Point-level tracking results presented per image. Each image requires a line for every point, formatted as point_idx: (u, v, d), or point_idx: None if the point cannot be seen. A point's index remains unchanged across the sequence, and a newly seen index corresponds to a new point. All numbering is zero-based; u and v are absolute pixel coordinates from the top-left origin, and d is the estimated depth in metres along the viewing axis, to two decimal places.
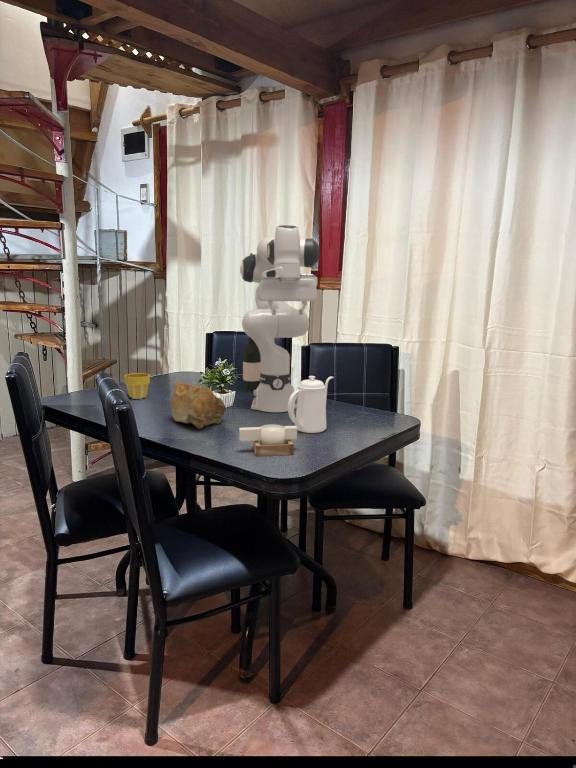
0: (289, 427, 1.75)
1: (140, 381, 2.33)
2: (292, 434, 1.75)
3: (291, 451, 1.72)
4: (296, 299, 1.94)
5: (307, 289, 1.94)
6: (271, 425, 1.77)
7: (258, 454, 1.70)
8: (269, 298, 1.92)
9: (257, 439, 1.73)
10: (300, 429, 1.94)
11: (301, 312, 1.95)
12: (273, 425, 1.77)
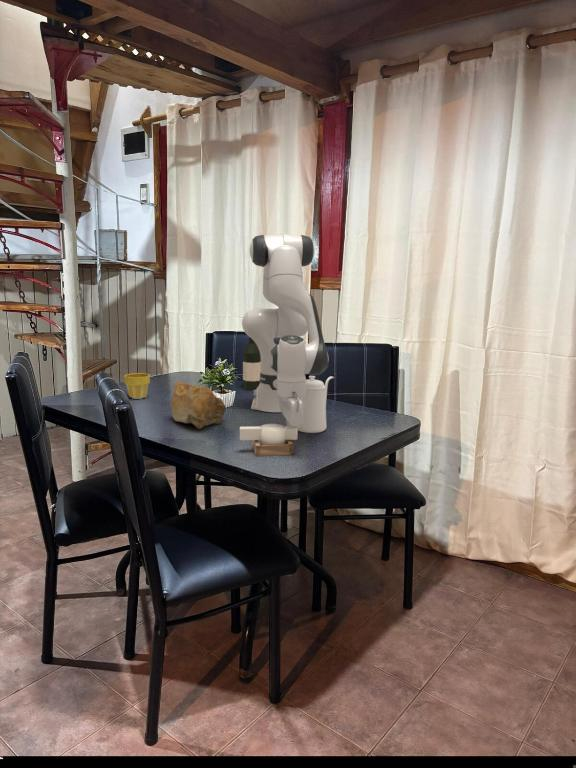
0: (290, 427, 1.75)
1: (140, 381, 2.33)
2: (293, 434, 1.75)
3: (291, 451, 1.72)
4: (286, 419, 1.75)
5: (289, 411, 1.70)
6: (272, 424, 1.77)
7: (258, 454, 1.70)
8: (281, 411, 1.83)
9: (257, 438, 1.73)
10: (300, 429, 1.94)
11: None
12: (274, 424, 1.77)
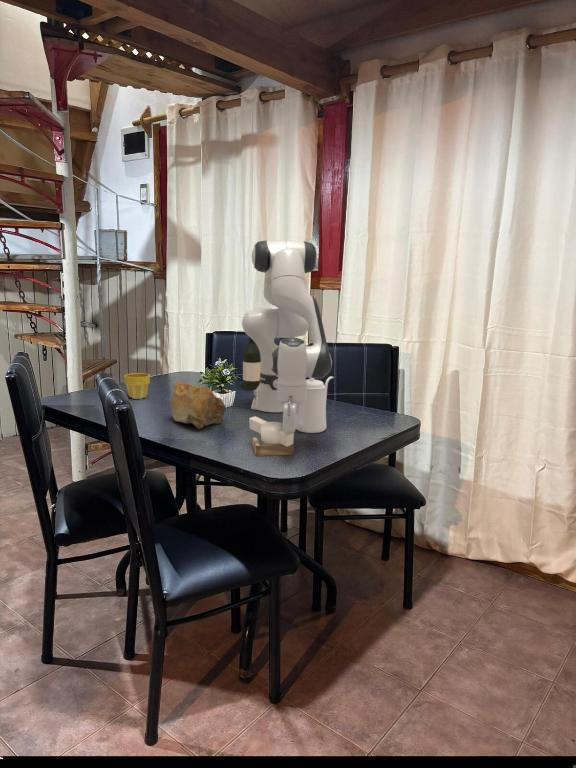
0: (284, 432, 1.70)
1: (140, 381, 2.33)
2: (283, 440, 1.69)
3: (291, 451, 1.72)
4: None
5: None
6: (279, 424, 1.75)
7: (258, 454, 1.70)
8: None
9: (260, 432, 1.77)
10: (300, 429, 1.94)
11: None
12: (281, 424, 1.75)
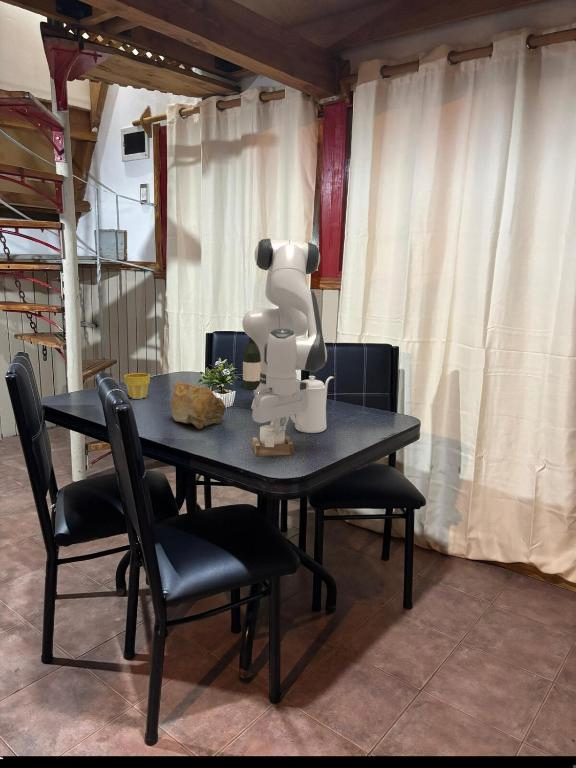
0: (269, 433, 1.69)
1: (140, 381, 2.33)
2: None
3: (291, 451, 1.72)
4: None
5: None
6: None
7: (258, 454, 1.70)
8: None
9: None
10: (300, 429, 1.94)
11: None
12: None
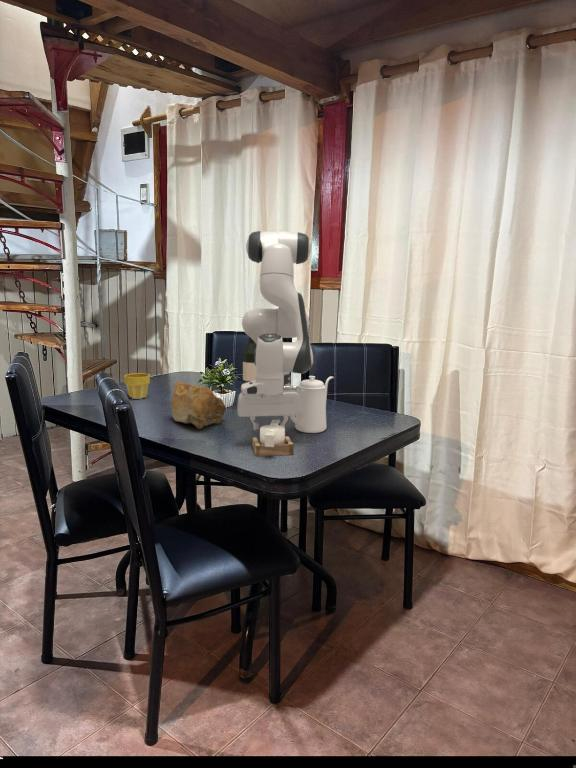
0: (269, 433, 1.69)
1: (140, 381, 2.33)
2: None
3: (291, 451, 1.72)
4: (279, 414, 1.80)
5: (290, 403, 1.80)
6: (280, 428, 1.74)
7: (258, 454, 1.70)
8: (250, 414, 1.78)
9: None
10: (300, 429, 1.94)
11: None
12: (280, 429, 1.73)
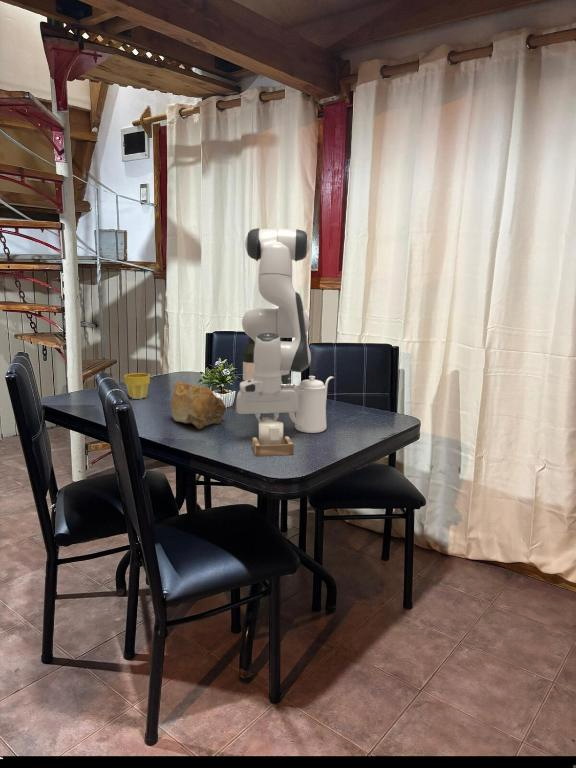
0: (272, 427, 1.73)
1: (140, 381, 2.33)
2: (269, 434, 1.72)
3: (291, 451, 1.72)
4: (276, 411, 1.84)
5: (288, 401, 1.84)
6: (279, 423, 1.78)
7: (258, 454, 1.70)
8: (248, 411, 1.83)
9: None
10: (300, 429, 1.94)
11: None
12: (279, 423, 1.78)
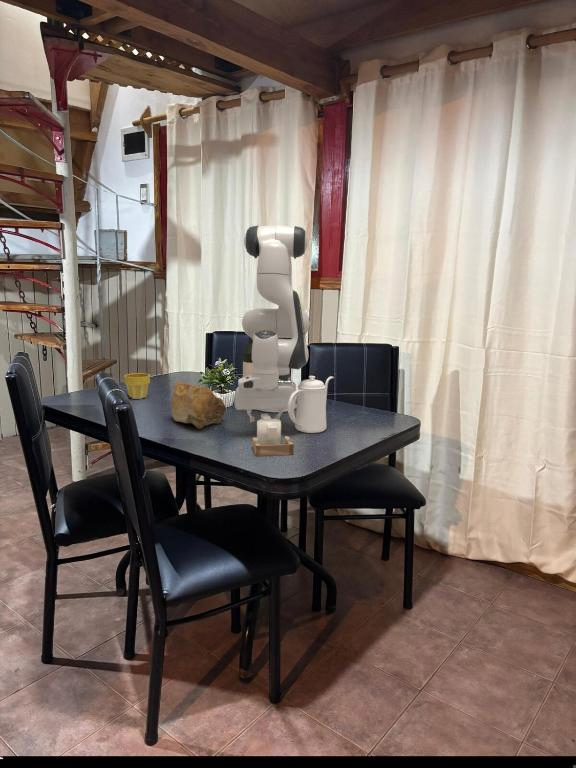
0: (270, 426, 1.76)
1: (140, 381, 2.33)
2: (267, 433, 1.76)
3: (291, 451, 1.72)
4: (274, 407, 1.89)
5: (285, 397, 1.89)
6: (277, 421, 1.82)
7: (258, 454, 1.70)
8: (246, 407, 1.87)
9: None
10: (300, 429, 1.94)
11: None
12: (277, 421, 1.81)
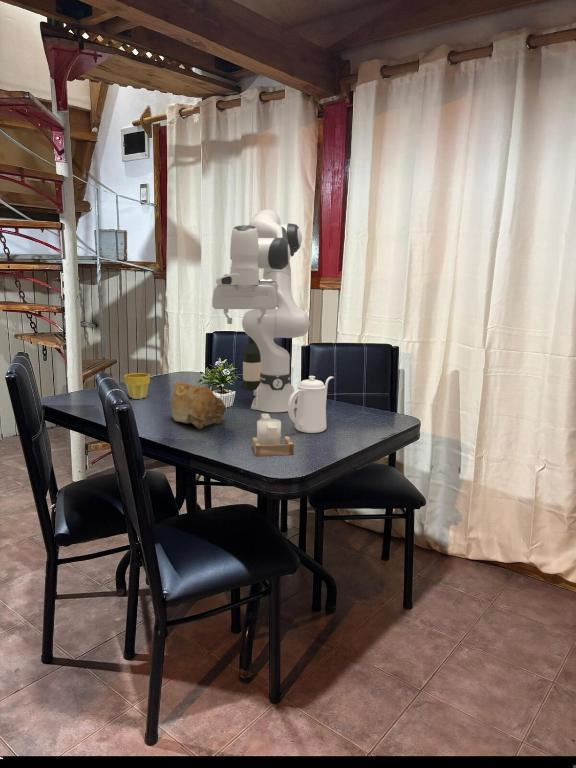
0: (270, 426, 1.76)
1: (140, 381, 2.33)
2: (267, 433, 1.76)
3: (291, 451, 1.72)
4: (254, 307, 1.79)
5: (266, 297, 1.79)
6: (277, 421, 1.82)
7: (258, 454, 1.70)
8: (224, 306, 1.77)
9: None
10: (300, 429, 1.94)
11: (259, 321, 1.81)
12: (277, 421, 1.81)
